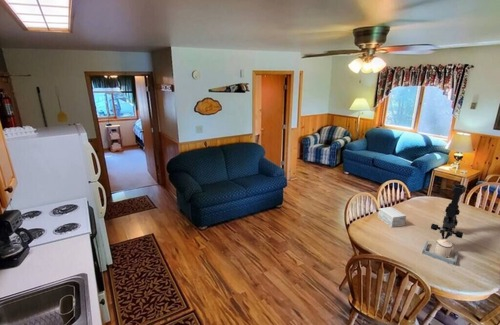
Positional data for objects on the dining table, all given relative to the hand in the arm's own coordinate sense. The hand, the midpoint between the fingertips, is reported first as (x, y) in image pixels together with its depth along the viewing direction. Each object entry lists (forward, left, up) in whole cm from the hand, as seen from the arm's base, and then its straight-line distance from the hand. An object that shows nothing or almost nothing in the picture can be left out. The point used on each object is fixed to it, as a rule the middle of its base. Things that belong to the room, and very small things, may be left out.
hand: (443, 241), depth 192 cm
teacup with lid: (+3, +1, -7) cm, 8 cm away
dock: (+5, +2, -7) cm, 9 cm away
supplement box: (-1, -43, -8) cm, 44 cm away
